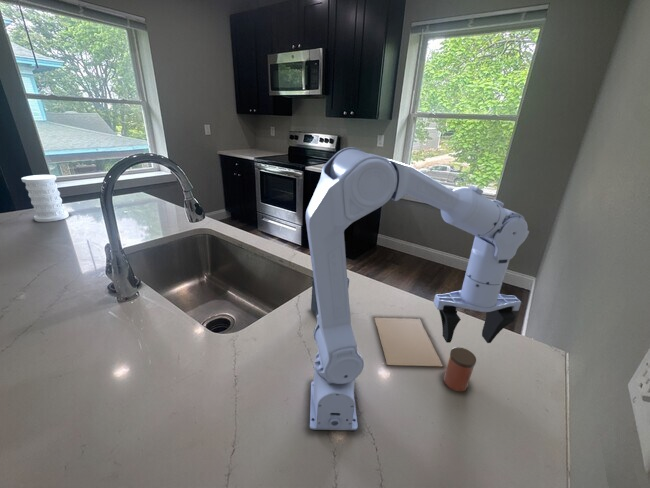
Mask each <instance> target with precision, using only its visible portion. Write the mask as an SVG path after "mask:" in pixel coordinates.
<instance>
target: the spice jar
mask: <svg viewBox="0 0 650 488" xmlns="http://www.w3.org/2000/svg"><path fill="white" fill-rule="evenodd" d="M476 363H477V357H476V356H475V354H474V353H473V352H472V351H470V350H469V349H467V348H465V347H460V346H457V347H453V348H451V350H450V352H449V358H448V361H447V365H446V368H445V372H444V375H443V382H444V384H445V385H446V386H447V387H448V388H449V389H451V390H452V391H456V392H465V391H466V390H467V388H468V386H469V383H470V380H471V377H472V373H473V372H474V371H473V370H474V367H475V366H476Z"/></svg>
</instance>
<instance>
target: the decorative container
mask: <svg viewBox="0 0 650 488" xmlns="http://www.w3.org/2000/svg"><path fill="white" fill-rule="evenodd" d="M20 179H21V182H22V183H24V184H25V190H26V191H27V192H28V193H27V194H28V195H27V196H28V198H30V204H31V206H32V207H33V212H34V213H35V215H34V216H33V219H34V221H35V222H39V223H49V222H50V223H51V222H57V221H62V220H64V219H67V218H69V217H70V214H69V212H68V211H65V205H64V204H63V199H62V198H61V196H60V195H61V192H60V191H59V189H58V188H59V185H58V183H56V181H57V175H54V174H33V175H27V176H23V177H21V178H20Z"/></svg>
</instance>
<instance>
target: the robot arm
mask: <svg viewBox="0 0 650 488" xmlns="http://www.w3.org/2000/svg"><path fill="white" fill-rule="evenodd" d="M483 193H484V190H483V189H481V188H479V187H478V186H477V187H476V186H473V185H470V187H468V186H460V187H457V188H454V189H451V188H450V187H449V186H446V185H444V184H442V183H441V182H439V181H437V180H436V179H434V178H433V177H431V176H429V175H427V174H425V173H424V172H422V171H421V170H418V169H417V168H415V167H414V166H412V165H409V164H405V163H403V162H400V161H397V160H393V159H390V158H387V157H384V156H381V155H377V154H373V153H368V152H365V151H363V150H362V149H360V148H358V147H353V146H350V147H345V148H342V149H340V150H338V151H337V152H336V153H334V154H333V156H332V157H331V158H330V159H329V160H327V162H325V164H324V165H323V166H322V168H321V174H320V177H319V180H318V183H317V184H316V188H315V189H314V192H313V195H312V197H311V199H310V201H309V203H308V205H307V208H306V209H305V210H306V211H305V224H306V232H307V240H308V248H309V254H310V262H311V269H312V279H313V278H314V285H315V293H316V300H317V308H318V315H317V316H316V325H315V328H314V330H313V338H314V339H313V340H314V341H315V343H316V347H317V353H316V354H315V357H314V358H315V359H314V369H313V370H314V371H313V381H311V383H310V406H309V407H310V408H309V409H310V410H309V411H310V413H309V428H310V429H311V430H312V431H313V430H317V431H318V430H319V431H320V430H321V431H357V430H358V428H359V427H358V425H359V424H358V417H357V409H356V401H355V393H354V392H355V385H356V379H357V378H358V377H359V376H360V375H361V374H362V372H363V370H364V367H365V362H364V358H363V356H362V355H361V353H359V351H358V346H357V341H356V338H355V333H354V330H353V327H352V320H351V307H350V295H349V293H350V292H349V288H348V280H347V278H348V269H347V257H346V256H347V254H346V241H345V230H346V229H347V228H348V227H349V226H350V225H352V224H353V223H354V222H356V221H358V220H360V219H361V218H364V217H365V216H367V215H369V214H371V213H372V212H374V211H377V209H379V208H381V207H382V206H384V205H385V204H386V203H388V202H389V201H390V199H391V200H392V201H394V202H398V201H399V200H401V199H402V198H403V197H404V196H409V197H411V198H414V199H416V200H418V201H421V202H423V203H425V204H427V205H429V206H432V207H434V208H436V209H438V210H440V216H441V218H442V220H443V221H444V222H445V223H447V224H449V225H451V226H454V227H455V228H457V229H459V230H461V231H464V232H466V233H468V234H470V235H472V236H474V239H473V243H472V247H471V251H470V255H469V258H468V262H467V267H466V271H465V275H464V278H463V283H462V286H461V289H459V290H456V291H451V292H447V293H442V294H441V293H439V294H435V295H434V299H433V305H434V307H435V308H436V310H437V311H439V315H440V318H441V326H442V338H443V339H444V341H445V343H448V344H450V343H451V342H452V340H453V336H454V333H455V330H456V328H457V326H458V324H459V322H460V321H461V317H460V316H459V314H458V310H457V309H466V310H470V311H476V312H481V313H485V319H484V323H483V326H482V330H481V337H482V338H483V339H484V341H485V342H486V343H487V344H491V343H492V342H493V341H494V339H495V338H496V337H497V336H498V335H499V334H500V332H501V331H502V330H503V329H505V328H506V327H508V326H509V325H511V324H512V323H514V322H515V320H516V314H515V313H514V312H519V310H520V308H521V304H522V301H521V300H520V299H519V298H518V297H517V296H516V295H510V294H508V295H507V294H503V293H501V289H502V286H503V283H504V280H505V277H506V273H507V271H508V267H509V263H510V260H512V259H514V256H516V254H517V251H518V249H519V247H520V246H521V245H522V244H523V243H524V242H525V240H526V239H527V238H528V236H529V234H530V230H528V229H529V228H528V227H529V226H528V222H527V221H526V218H525V216H524V215H522V214H521V213H518V212H515V211H513V210H510V209H508V208H505V207H504V206H505V203H504V202H502V201H501V200H498V199H493V200H492V199H490V198H488V197H487V196H484V195H483Z"/></svg>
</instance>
